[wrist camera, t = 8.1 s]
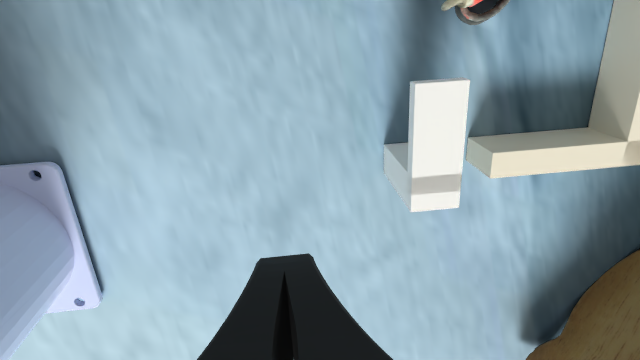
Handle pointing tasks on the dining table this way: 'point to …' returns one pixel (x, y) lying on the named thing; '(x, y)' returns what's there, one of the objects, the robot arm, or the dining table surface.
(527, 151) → the end holder
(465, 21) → the composite cable
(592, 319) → the wooden carving
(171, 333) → the dining table surface
